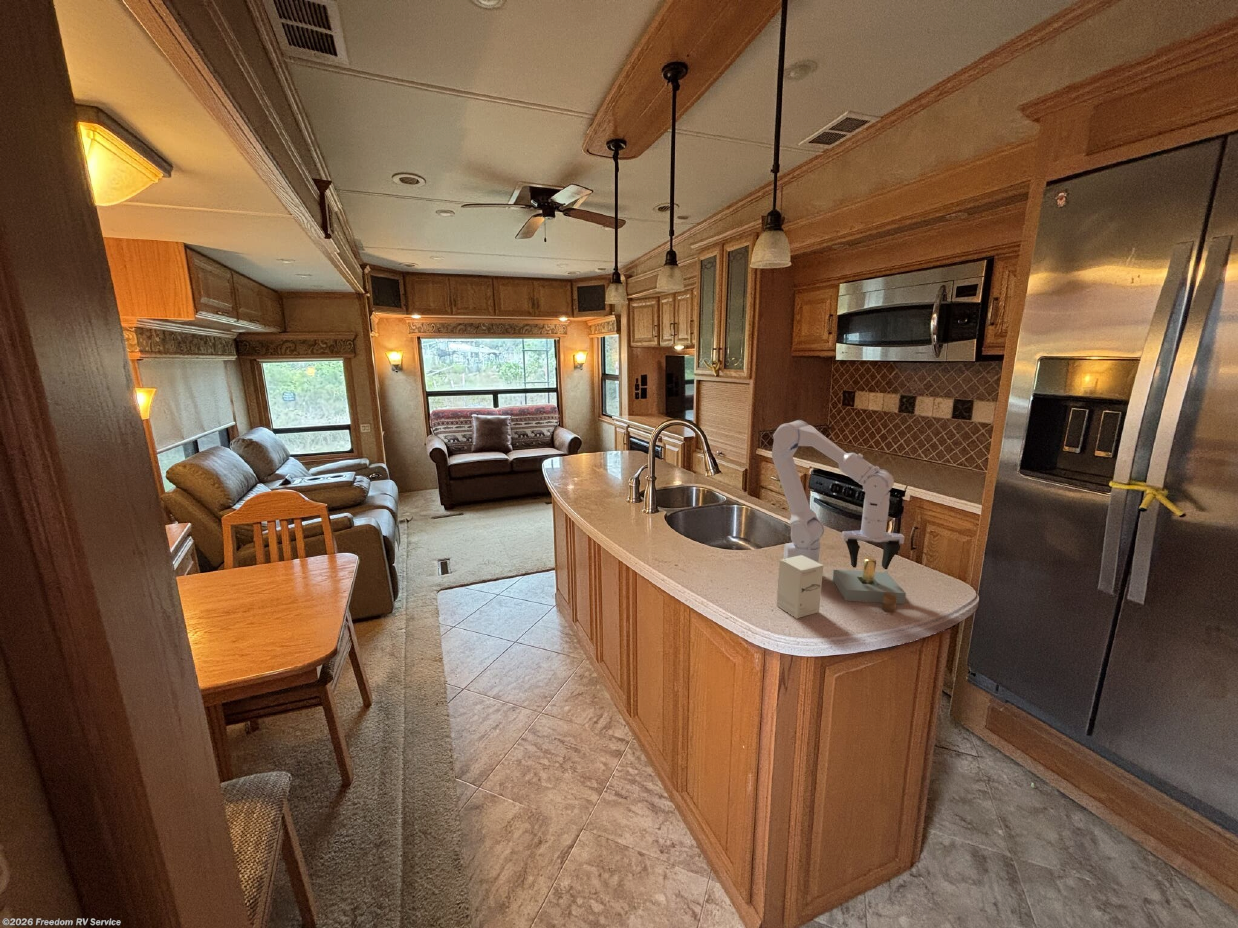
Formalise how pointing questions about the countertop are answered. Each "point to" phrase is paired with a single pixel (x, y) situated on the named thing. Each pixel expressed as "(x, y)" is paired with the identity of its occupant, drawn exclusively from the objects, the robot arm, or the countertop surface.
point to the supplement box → (799, 586)
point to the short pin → (889, 602)
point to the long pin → (868, 571)
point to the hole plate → (867, 586)
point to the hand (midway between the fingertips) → (869, 566)
